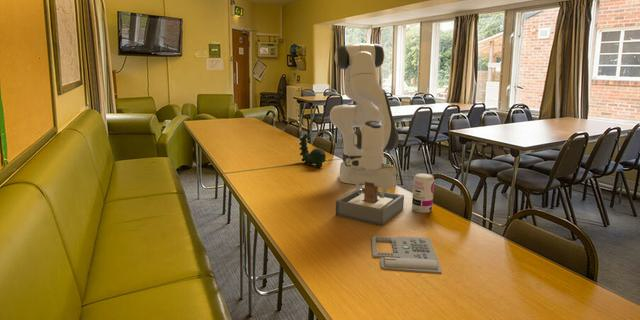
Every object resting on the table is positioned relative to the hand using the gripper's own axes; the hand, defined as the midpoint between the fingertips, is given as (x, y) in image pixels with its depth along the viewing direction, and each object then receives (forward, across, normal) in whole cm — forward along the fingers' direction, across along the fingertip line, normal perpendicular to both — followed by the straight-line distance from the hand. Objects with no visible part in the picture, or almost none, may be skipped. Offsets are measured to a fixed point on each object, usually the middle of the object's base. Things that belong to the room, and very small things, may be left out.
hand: (370, 195), depth 165 cm
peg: (+6, 0, 0) cm, 6 cm away
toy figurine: (+8, +62, -52) cm, 81 cm away
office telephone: (+8, -25, +28) cm, 38 cm away
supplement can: (+7, -17, -14) cm, 23 cm away
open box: (+7, 0, 0) cm, 7 cm away
